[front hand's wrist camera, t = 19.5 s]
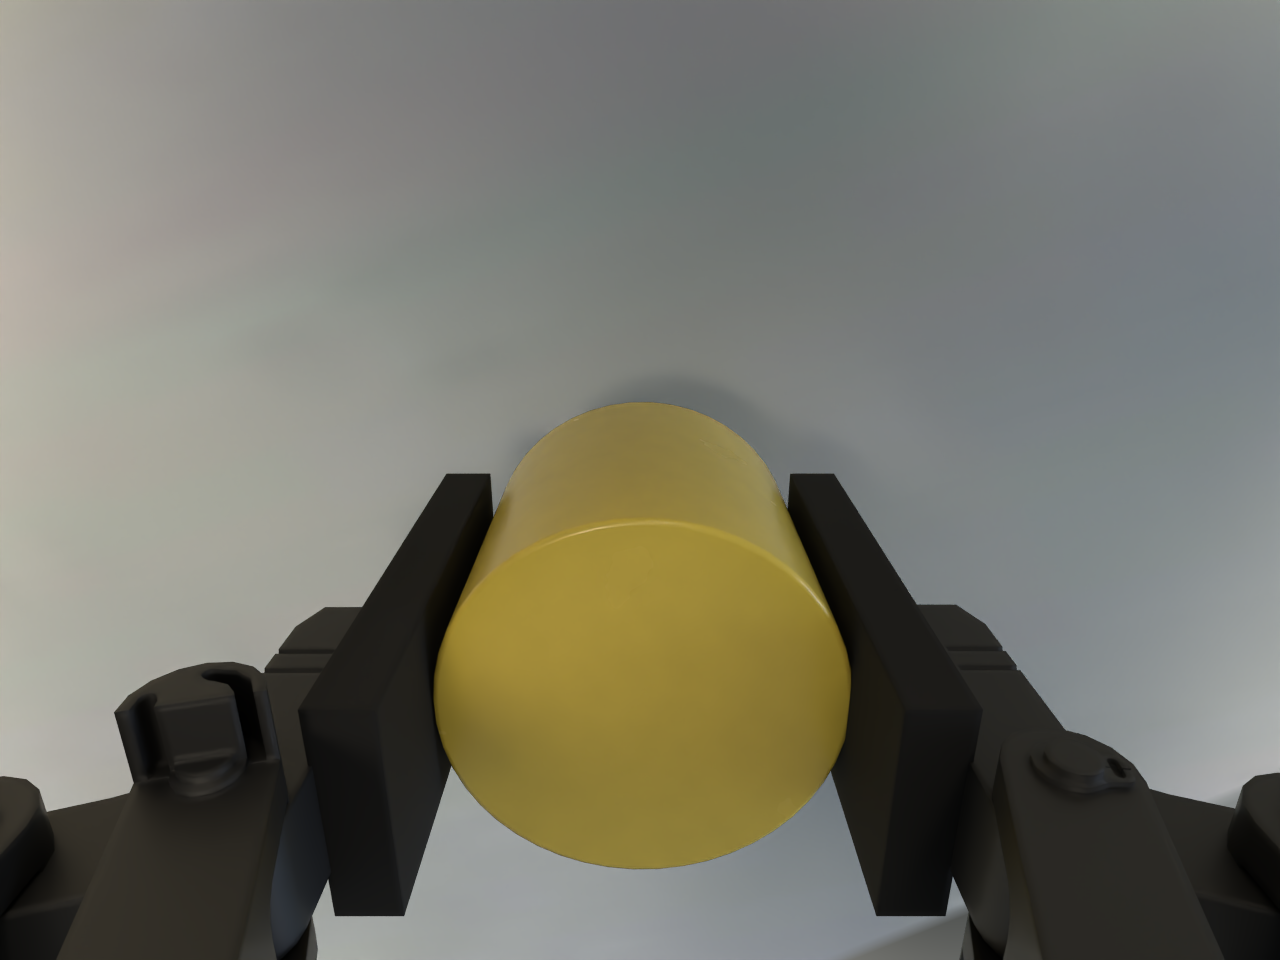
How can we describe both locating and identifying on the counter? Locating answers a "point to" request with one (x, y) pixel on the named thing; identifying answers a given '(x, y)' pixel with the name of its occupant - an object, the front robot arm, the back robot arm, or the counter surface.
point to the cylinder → (642, 647)
